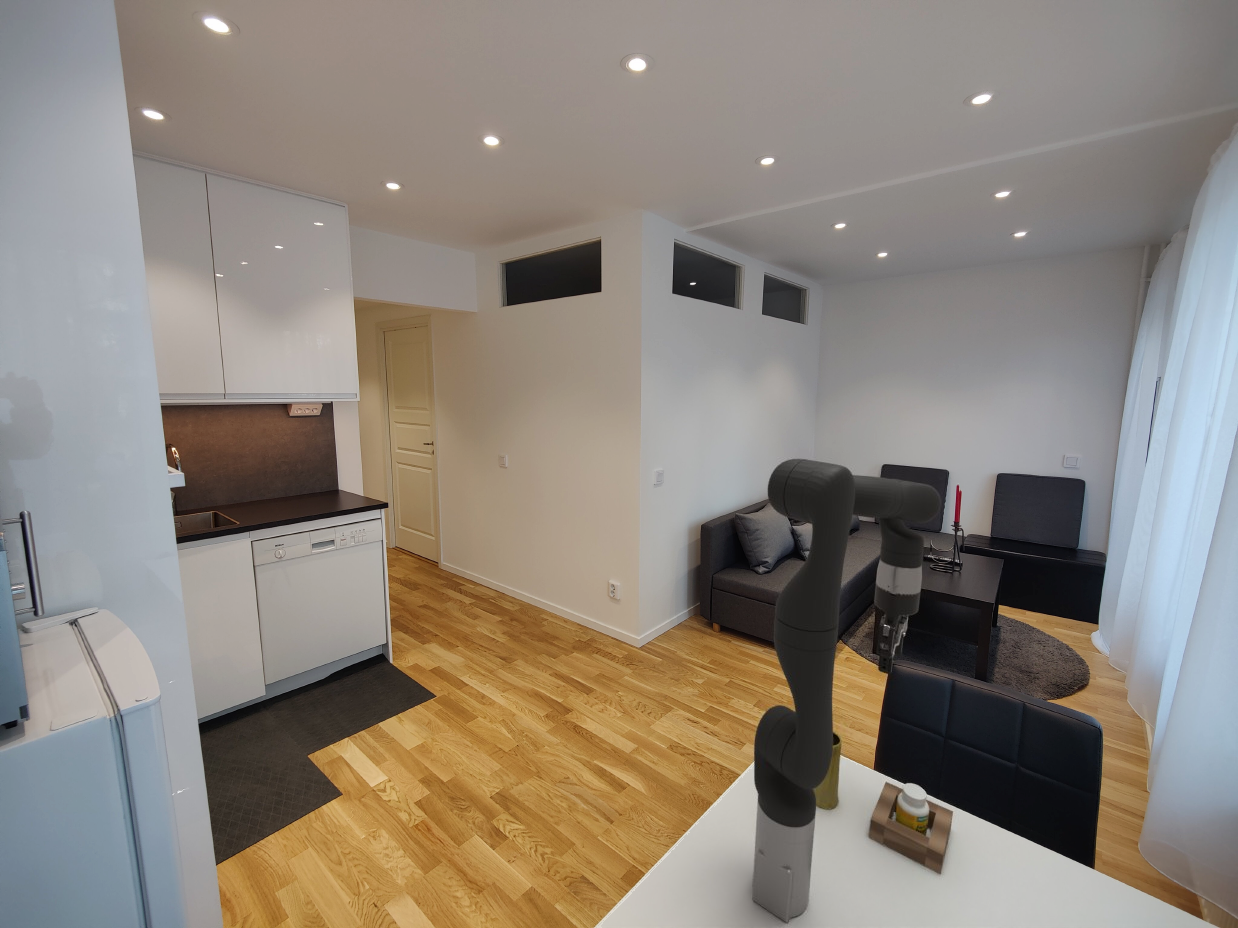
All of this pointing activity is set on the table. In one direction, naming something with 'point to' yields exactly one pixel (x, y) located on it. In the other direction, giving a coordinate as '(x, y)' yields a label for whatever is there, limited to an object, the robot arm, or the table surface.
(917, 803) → the supplement bottle
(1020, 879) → the table surface
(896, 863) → the table surface
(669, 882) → the table surface
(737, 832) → the table surface
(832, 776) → the vase
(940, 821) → the socket block
